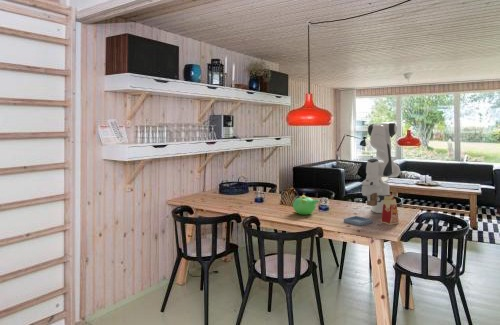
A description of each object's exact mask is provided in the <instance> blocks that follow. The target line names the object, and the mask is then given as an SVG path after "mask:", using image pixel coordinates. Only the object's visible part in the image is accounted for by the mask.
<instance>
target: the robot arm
mask: <svg viewBox="0 0 500 325" xmlns="http://www.w3.org/2000/svg"><path fill="white" fill-rule="evenodd" d="M397 131H398V127H397V124H396V122H393V121H390V122H389V121H387V122H385V121H384V122H377V123H371V124H369V125H368V127H367V134H368V136H370V139H369V140H370V146H371V147H372V148H374V150H376V151H375V152H376V153H375V155H376V158H377V159H376V158H369V159H368V160H367V162H366V165H365V174H366V176H365V179H363V181H362V182H361V185H362V186H361V194H362V196H363V197H364V196H365V197H366V199H367V198H368V201H371V198H370V195H372V194H374V193H377V205H375V206H371V208H370V210H371V211H372V212H373V213H377V214H382V210H383V203H384V198H385V197H384V196H393V194H390V189H391V188H390V184H389V182H387V181H385V180H383V179H382V178H388V179H389V178H398V177H399V175H400V174H401V169H400V168H401V167H400V166H399V165H398V164H396V162H395V161H394V160H393V158H392V139H391V138H393V137H394V136H395V135H396V134H397ZM379 160H381V161H383V162H379ZM397 211H398V212H399V209H398V208H397Z"/></svg>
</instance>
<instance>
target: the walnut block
mask: <svg viewBox="0 0 500 325" xmlns="http://www.w3.org/2000/svg"><path fill="white" fill-rule="evenodd" d="M370 198H371V201H368V198H367V197H366V205H367V206H370V207H372V206H375V205H377V193H374V194H372V195H370Z"/></svg>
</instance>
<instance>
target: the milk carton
mask: <svg viewBox="0 0 500 325" xmlns="http://www.w3.org/2000/svg"><path fill="white" fill-rule="evenodd" d="M384 197H385V198H384V203H383V210H382V213H381V223H382V224H386V225H389V226H392V225H396V224H397V225H398V224H400V221H399V210H398V211H397V209H398V205H397V200H396V198H395V197H394V195H393V194H392V196H384Z"/></svg>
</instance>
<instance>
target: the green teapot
mask: <svg viewBox="0 0 500 325" xmlns="http://www.w3.org/2000/svg"><path fill="white" fill-rule="evenodd" d="M318 203H320V199H313V198H311V197H309V196H306V195H305V194H302V195H301V196H300V197H297V198H296V199H294V200H293V203H292V208H293V210H294V211H295V213H297V214H299V215H310V214H312V213H313V212H314V211H315V210H316V204H318Z"/></svg>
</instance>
